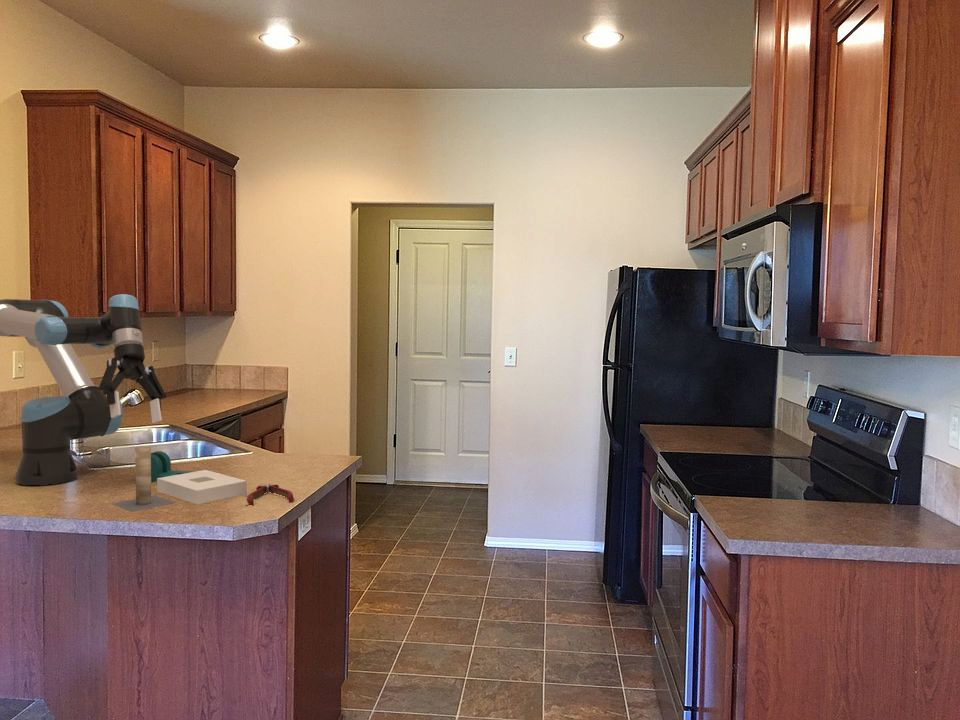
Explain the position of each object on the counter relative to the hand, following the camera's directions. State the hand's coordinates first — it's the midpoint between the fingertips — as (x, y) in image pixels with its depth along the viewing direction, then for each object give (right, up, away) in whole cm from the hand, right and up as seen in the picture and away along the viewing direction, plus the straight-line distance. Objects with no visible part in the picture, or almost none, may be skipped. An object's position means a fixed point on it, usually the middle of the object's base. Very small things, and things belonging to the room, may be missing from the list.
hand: (137, 419), depth 192 cm
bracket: (+4, -19, +12) cm, 23 cm away
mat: (+9, -20, -15) cm, 27 cm away
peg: (+9, -20, -15) cm, 26 cm away
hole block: (+19, -20, -4) cm, 28 cm away
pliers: (+38, -21, -4) cm, 43 cm away
